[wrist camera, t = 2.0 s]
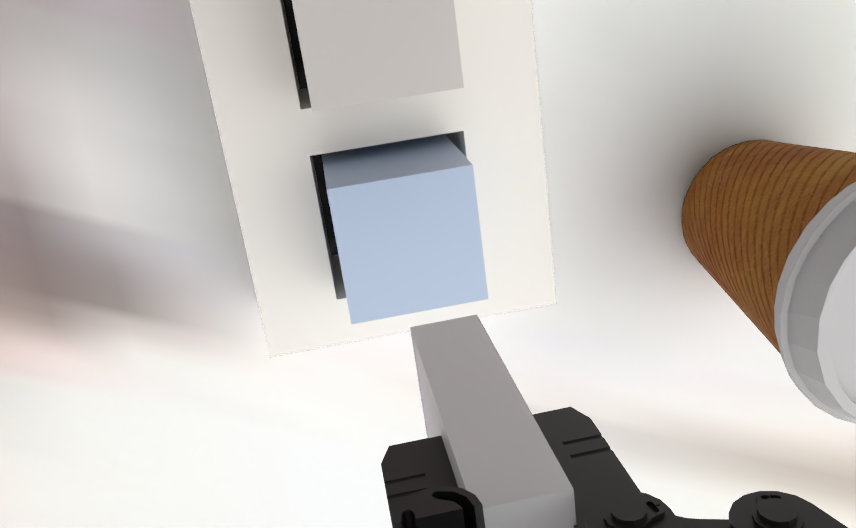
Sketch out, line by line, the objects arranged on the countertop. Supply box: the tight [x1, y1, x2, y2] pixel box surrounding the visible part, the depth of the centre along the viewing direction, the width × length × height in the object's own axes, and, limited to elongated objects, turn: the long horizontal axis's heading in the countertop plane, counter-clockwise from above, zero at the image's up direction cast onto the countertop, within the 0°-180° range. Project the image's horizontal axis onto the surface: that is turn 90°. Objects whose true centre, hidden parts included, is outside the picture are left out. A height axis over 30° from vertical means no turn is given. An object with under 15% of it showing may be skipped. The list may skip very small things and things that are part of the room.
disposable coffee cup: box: [682, 140, 856, 423], centre depth 31 cm, size 10×10×12 cm
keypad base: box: [189, 0, 557, 358], centre depth 29 cm, size 11×23×5 cm, turn 8°
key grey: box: [292, 0, 464, 112], centre depth 26 cm, size 5×5×6 cm
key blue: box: [322, 134, 488, 324], centre depth 29 cm, size 5×5×6 cm
